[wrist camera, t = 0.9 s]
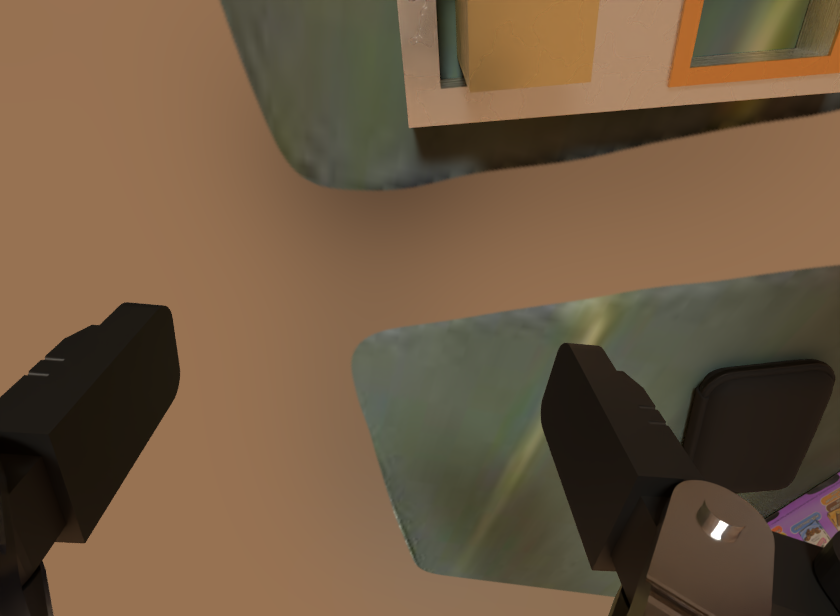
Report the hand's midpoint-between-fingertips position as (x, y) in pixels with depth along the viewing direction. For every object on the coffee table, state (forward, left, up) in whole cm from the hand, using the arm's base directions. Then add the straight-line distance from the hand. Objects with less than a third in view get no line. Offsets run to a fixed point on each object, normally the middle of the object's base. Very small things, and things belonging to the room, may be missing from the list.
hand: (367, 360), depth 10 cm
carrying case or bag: (+27, +25, -22) cm, 43 cm away
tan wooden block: (-5, +5, -21) cm, 22 cm away
